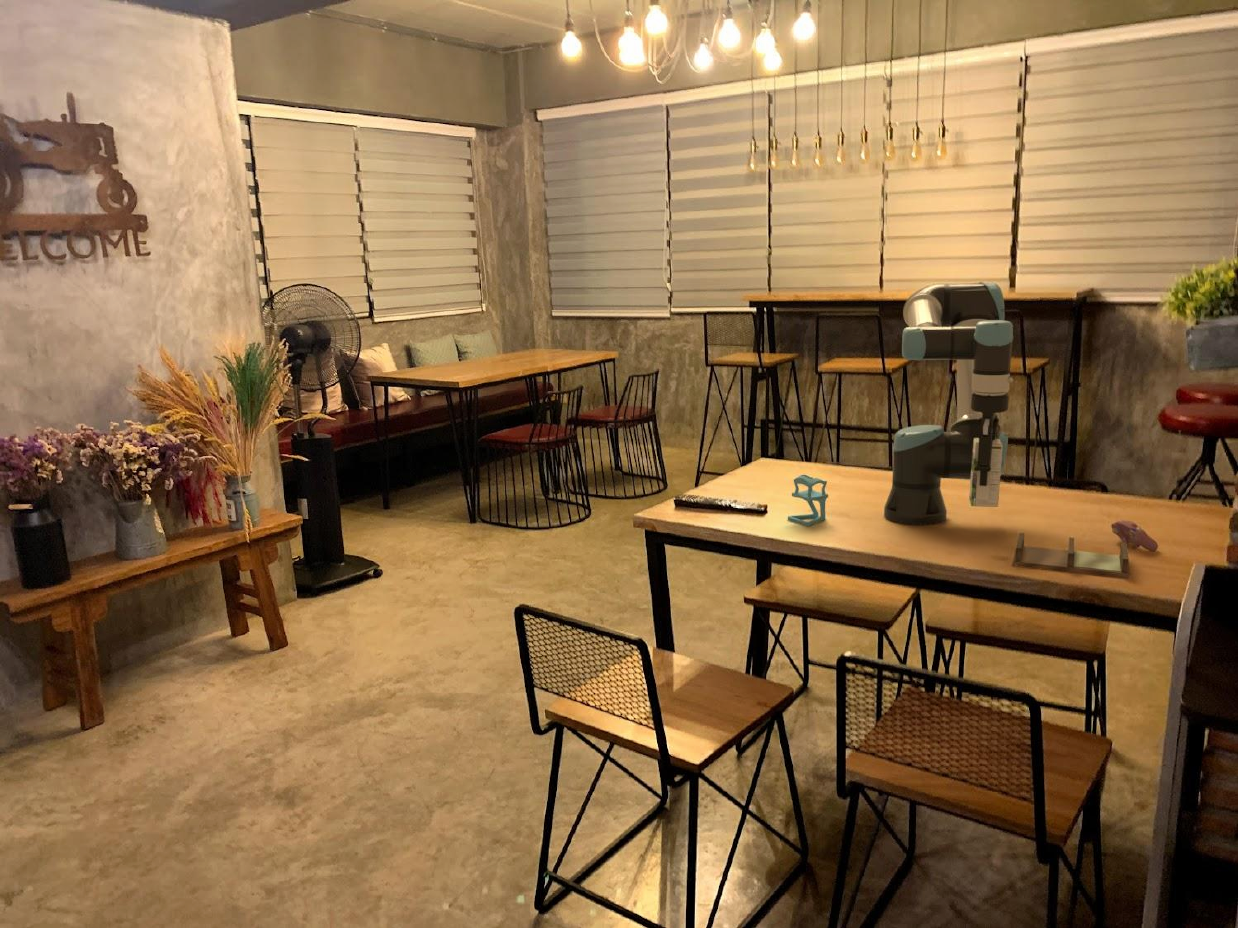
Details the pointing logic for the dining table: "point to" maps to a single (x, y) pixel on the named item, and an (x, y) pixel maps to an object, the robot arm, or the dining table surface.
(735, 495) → the dining table surface
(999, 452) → the syrup box
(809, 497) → the chair
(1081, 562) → the slot rack
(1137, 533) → the video game controller
